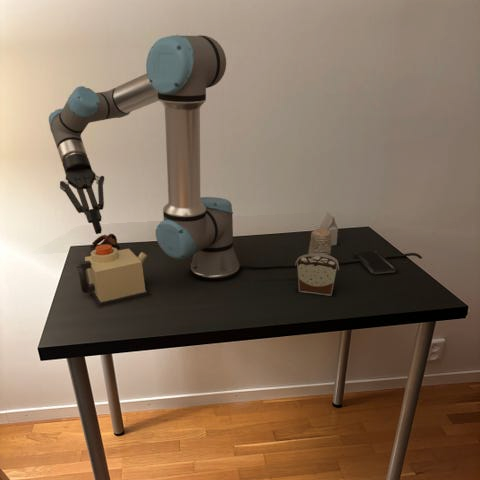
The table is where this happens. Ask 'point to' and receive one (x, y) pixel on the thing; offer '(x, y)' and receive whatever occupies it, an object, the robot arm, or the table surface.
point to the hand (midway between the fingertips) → (98, 231)
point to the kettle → (115, 274)
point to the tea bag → (330, 227)
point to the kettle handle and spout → (91, 287)
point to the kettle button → (104, 249)
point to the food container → (316, 273)
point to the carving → (320, 242)
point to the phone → (375, 263)
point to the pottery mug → (106, 241)
